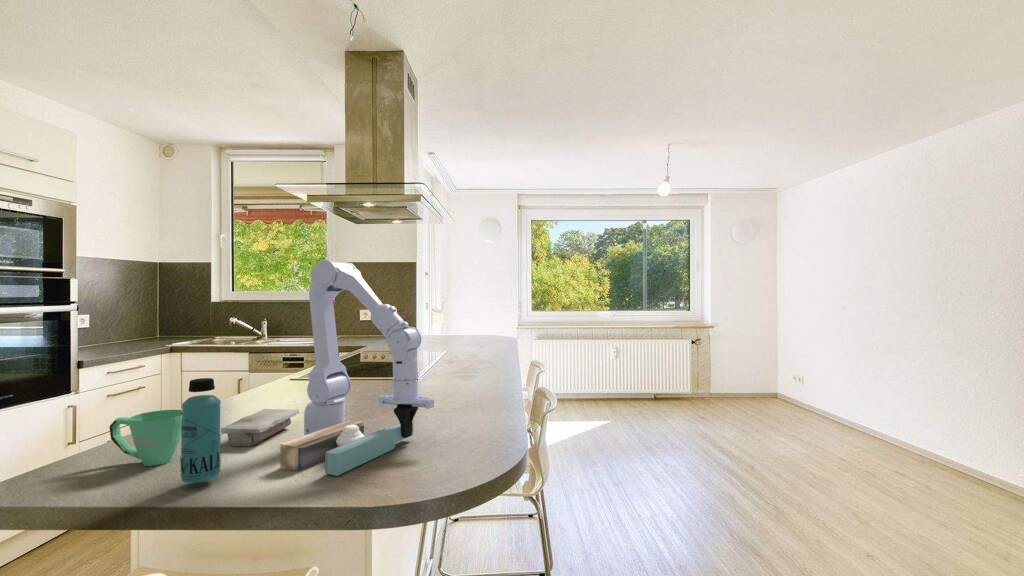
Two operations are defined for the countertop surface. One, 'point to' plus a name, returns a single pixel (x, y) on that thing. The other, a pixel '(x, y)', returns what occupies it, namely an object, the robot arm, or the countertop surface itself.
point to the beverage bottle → (200, 434)
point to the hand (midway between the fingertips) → (406, 436)
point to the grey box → (258, 426)
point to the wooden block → (312, 447)
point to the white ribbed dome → (349, 435)
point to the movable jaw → (362, 450)
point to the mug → (150, 435)
